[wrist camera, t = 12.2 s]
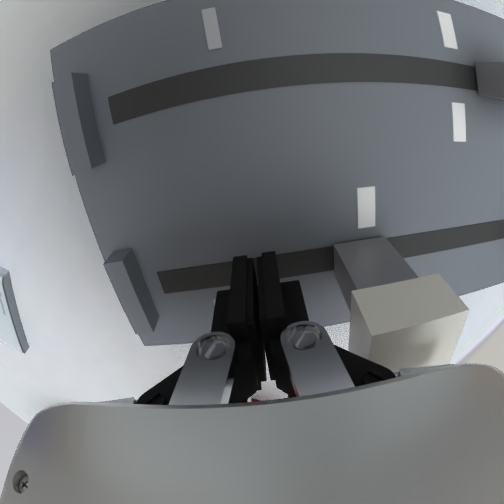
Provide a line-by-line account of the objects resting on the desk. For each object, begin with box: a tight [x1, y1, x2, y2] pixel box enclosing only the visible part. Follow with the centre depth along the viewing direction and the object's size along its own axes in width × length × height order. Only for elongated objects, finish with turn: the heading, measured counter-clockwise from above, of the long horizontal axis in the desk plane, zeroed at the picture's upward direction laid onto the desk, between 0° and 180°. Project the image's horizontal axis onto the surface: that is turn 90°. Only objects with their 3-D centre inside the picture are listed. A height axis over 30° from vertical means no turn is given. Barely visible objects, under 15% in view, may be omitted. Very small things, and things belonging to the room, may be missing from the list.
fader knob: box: [334, 237, 469, 372], centre depth 10 cm, size 3×3×6 cm
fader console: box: [50, 0, 504, 346], centre depth 11 cm, size 16×24×3 cm, turn 99°
